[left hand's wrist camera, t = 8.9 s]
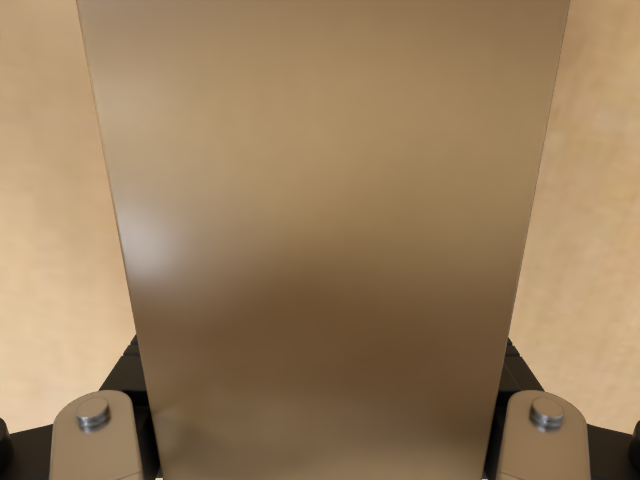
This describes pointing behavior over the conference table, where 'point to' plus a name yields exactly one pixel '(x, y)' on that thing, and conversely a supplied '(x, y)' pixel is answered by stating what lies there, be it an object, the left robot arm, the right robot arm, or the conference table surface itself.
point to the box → (322, 222)
